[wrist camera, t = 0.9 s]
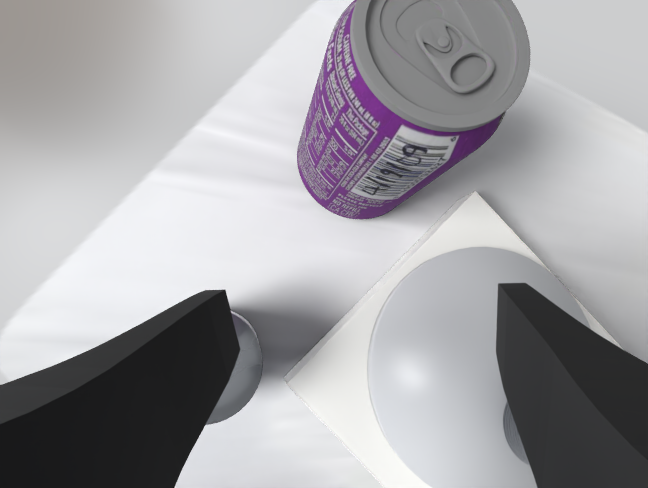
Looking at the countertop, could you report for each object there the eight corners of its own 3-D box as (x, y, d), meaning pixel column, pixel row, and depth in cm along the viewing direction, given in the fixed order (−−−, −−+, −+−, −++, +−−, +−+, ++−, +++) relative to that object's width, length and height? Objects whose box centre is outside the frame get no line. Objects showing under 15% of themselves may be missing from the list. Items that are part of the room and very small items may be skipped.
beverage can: (431, 175, 26) (582, 65, 14) (348, 246, 24) (439, 186, 12) (359, 88, 26) (449, -94, 14) (271, 152, 24) (290, 6, 13)
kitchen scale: (464, 569, 22) (493, 605, 20) (283, 377, 22) (287, 387, 20) (614, 366, 26) (656, 372, 23) (458, 199, 26) (482, 186, 23)
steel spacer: (214, 412, 21) (200, 450, 16) (156, 350, 21) (120, 366, 16) (276, 350, 23) (285, 365, 17) (220, 292, 22) (210, 285, 17)
